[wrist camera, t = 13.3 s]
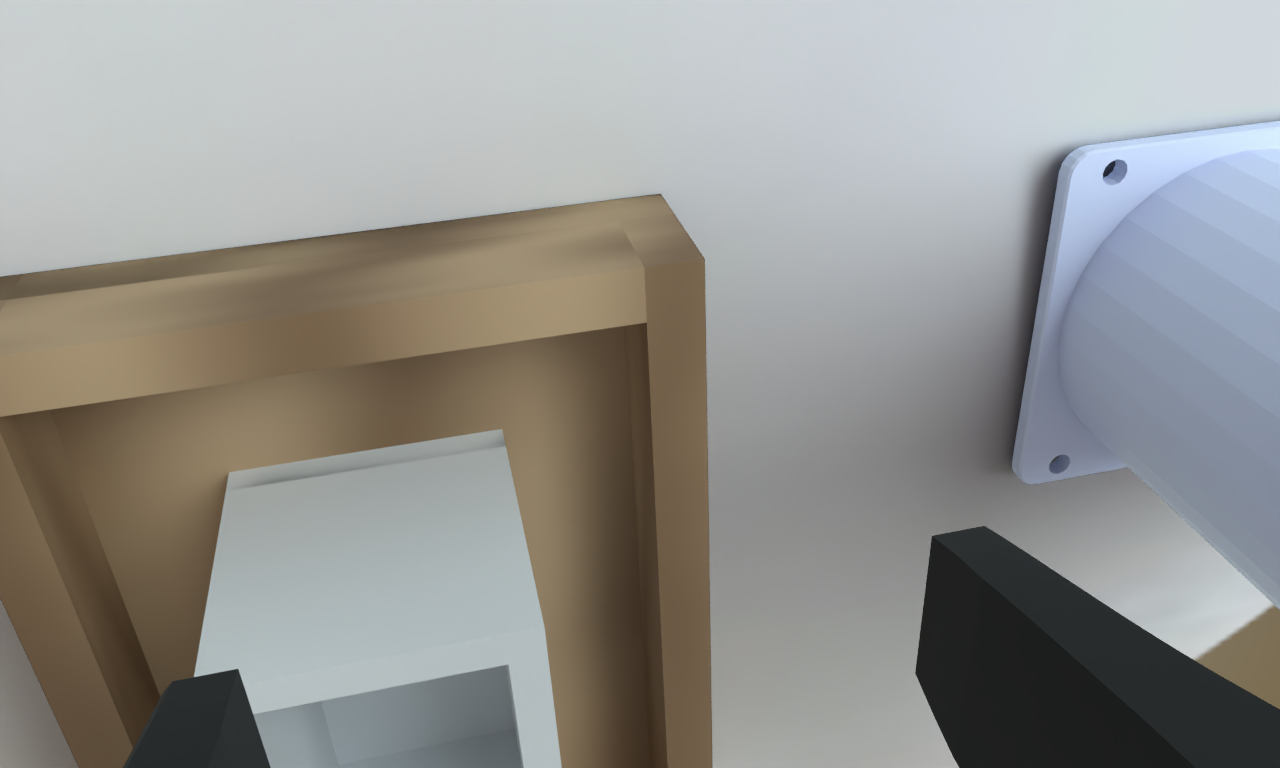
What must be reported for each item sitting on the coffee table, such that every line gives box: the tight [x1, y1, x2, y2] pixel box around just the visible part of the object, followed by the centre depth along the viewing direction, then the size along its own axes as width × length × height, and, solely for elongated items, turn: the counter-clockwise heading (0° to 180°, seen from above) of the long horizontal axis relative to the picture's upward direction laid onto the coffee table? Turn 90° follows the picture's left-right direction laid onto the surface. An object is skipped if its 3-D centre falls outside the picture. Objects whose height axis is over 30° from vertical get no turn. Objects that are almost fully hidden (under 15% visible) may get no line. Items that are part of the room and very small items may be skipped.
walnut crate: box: [0, 194, 712, 768], centre depth 22 cm, size 12×16×3 cm
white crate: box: [194, 429, 562, 768], centre depth 20 cm, size 5×8×6 cm, turn 3°
